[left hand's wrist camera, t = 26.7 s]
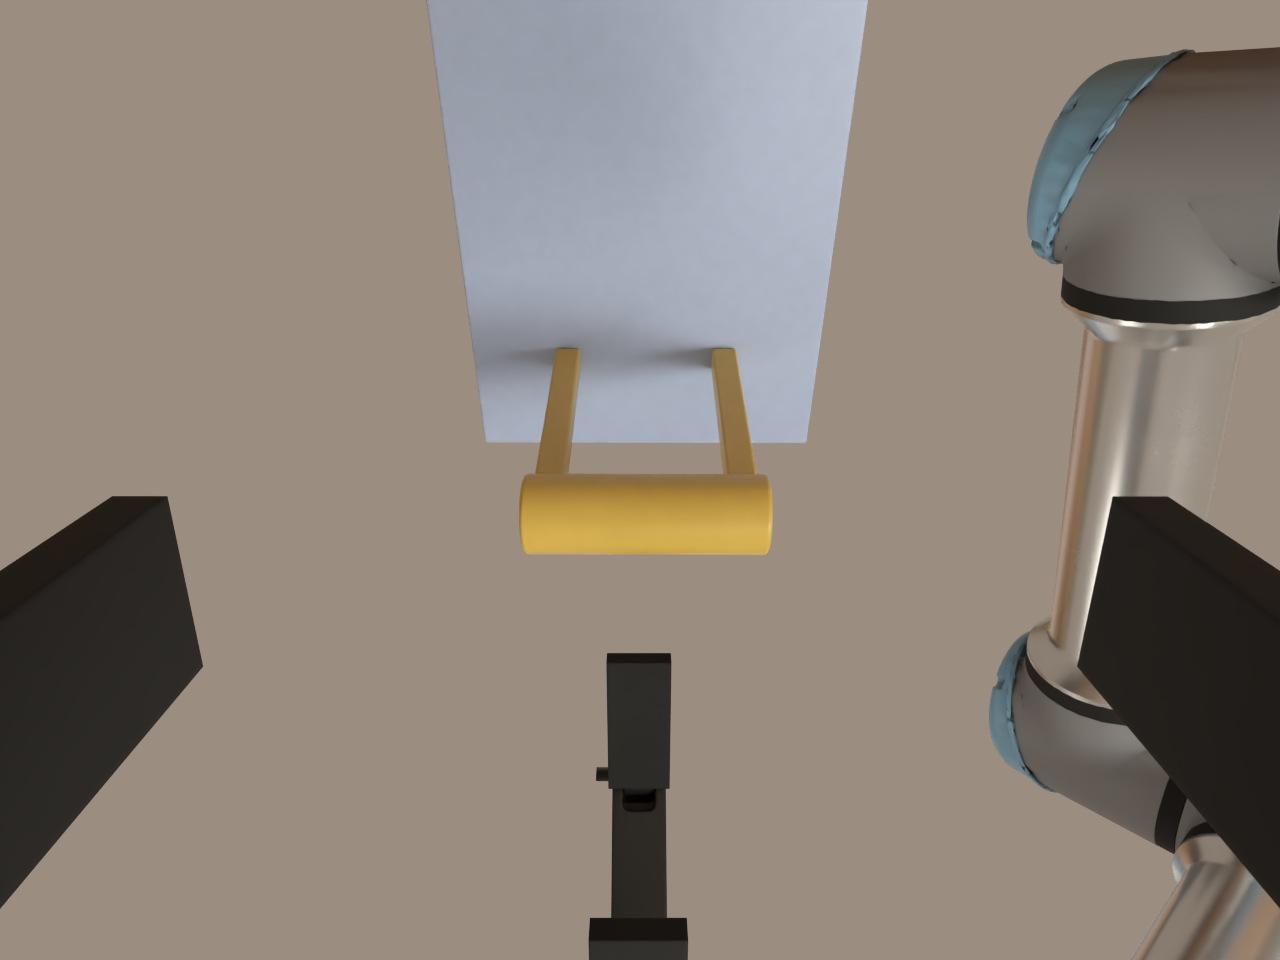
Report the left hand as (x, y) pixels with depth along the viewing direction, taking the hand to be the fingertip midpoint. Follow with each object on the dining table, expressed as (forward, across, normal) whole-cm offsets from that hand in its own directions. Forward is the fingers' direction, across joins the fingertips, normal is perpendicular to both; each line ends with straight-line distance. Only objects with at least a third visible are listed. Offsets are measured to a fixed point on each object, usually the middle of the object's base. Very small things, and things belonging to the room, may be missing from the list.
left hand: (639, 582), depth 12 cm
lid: (+14, 0, -4) cm, 14 cm away
